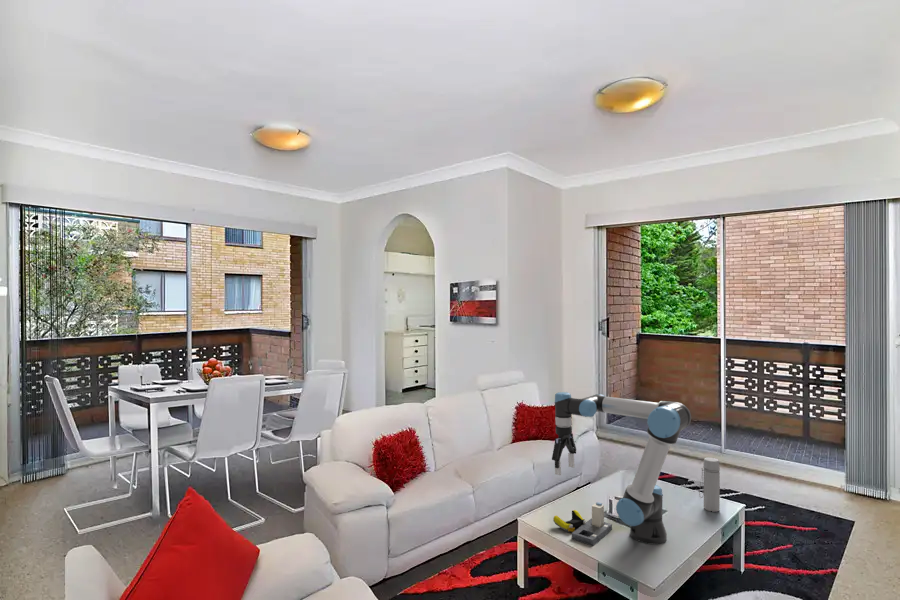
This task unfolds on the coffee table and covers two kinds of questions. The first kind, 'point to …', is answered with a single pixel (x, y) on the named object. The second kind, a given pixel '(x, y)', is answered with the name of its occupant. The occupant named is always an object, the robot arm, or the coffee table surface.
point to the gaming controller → (570, 522)
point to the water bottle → (711, 484)
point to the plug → (598, 514)
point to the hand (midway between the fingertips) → (564, 470)
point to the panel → (591, 532)
